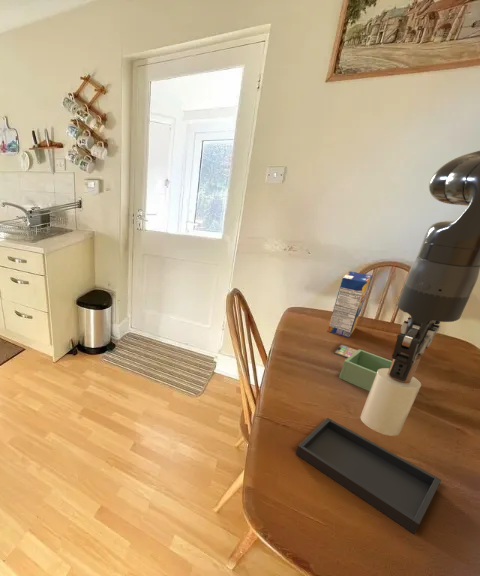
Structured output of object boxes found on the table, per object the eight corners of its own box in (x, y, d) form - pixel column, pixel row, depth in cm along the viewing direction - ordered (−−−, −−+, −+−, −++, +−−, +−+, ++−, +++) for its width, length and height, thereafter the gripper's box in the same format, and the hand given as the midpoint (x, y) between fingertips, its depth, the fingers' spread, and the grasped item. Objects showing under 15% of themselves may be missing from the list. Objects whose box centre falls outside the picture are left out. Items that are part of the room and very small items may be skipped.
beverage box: (326, 331, 121) (342, 277, 113) (334, 322, 128) (349, 271, 120) (348, 337, 116) (366, 282, 108) (355, 328, 123) (372, 275, 115)
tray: (436, 488, 62) (441, 479, 61) (414, 534, 54) (419, 524, 53) (324, 425, 77) (327, 417, 76) (295, 454, 69) (297, 445, 68)
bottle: (404, 427, 61) (436, 357, 55) (394, 441, 58) (426, 368, 52) (366, 408, 65) (392, 342, 60) (355, 420, 62) (380, 352, 57)
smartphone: (392, 376, 95) (393, 372, 94) (333, 355, 105) (334, 352, 105) (396, 365, 100) (398, 362, 99) (340, 347, 110) (341, 344, 110)
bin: (398, 386, 90) (407, 366, 88) (385, 401, 85) (393, 380, 82) (353, 367, 99) (359, 348, 97) (338, 379, 93) (344, 360, 91)
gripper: (460, 304, 44) (416, 401, 51) (479, 285, 52) (439, 371, 58) (392, 289, 50) (360, 377, 57) (418, 273, 58) (387, 353, 64)
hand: (400, 374), depth 57 cm, fingers closed on bottle, 3 cm apart
